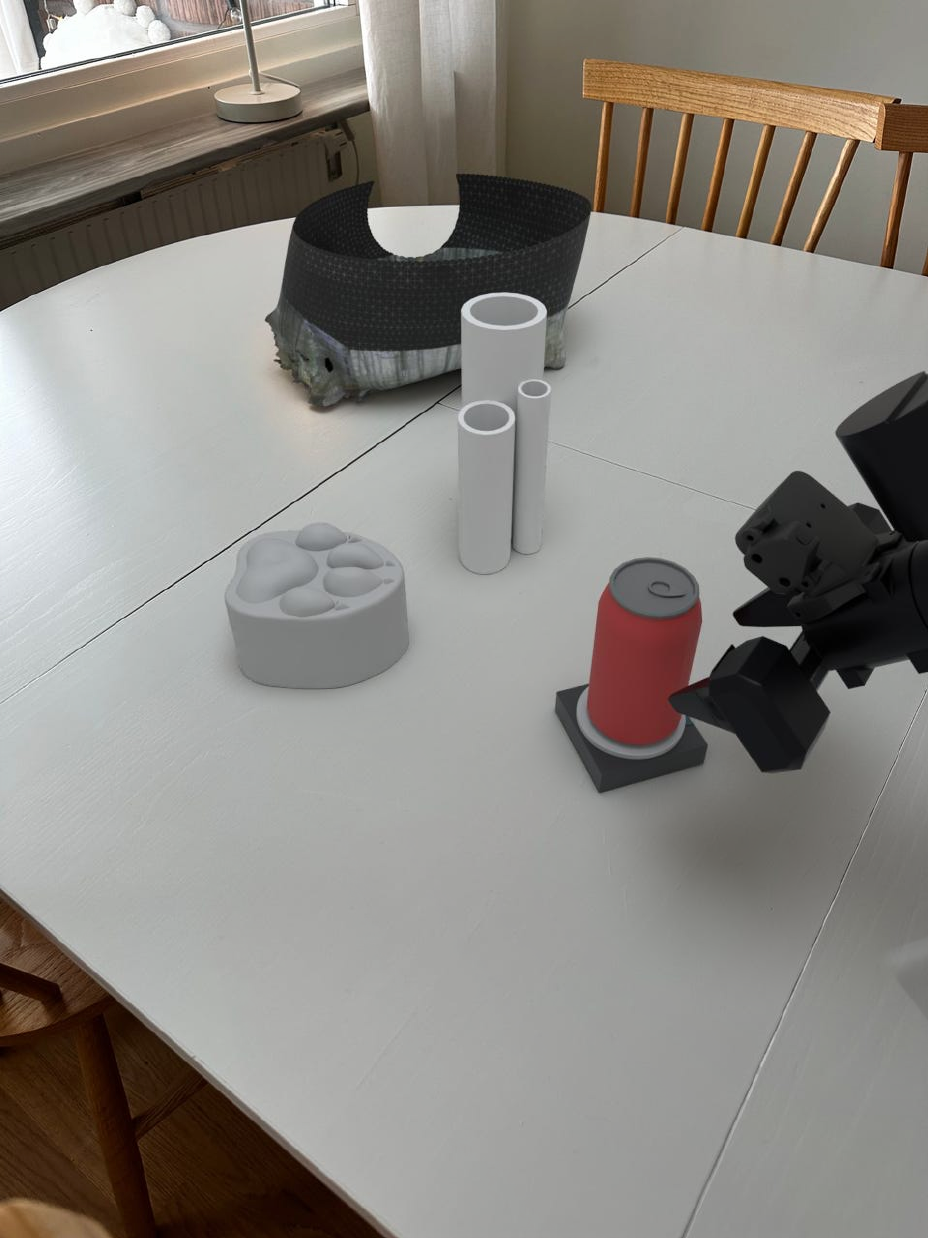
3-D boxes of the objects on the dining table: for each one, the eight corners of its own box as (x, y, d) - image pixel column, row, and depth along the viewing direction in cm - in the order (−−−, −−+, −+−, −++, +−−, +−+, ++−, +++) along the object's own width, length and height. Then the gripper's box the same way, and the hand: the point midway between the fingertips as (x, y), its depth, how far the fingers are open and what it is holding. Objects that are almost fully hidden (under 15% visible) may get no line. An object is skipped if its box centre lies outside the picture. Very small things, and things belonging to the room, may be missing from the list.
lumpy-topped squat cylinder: (258, 596, 82) (241, 512, 76) (413, 598, 81) (408, 515, 75) (232, 687, 74) (211, 602, 68) (403, 690, 74) (397, 605, 68)
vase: (463, 495, 92) (461, 291, 78) (540, 497, 92) (551, 292, 78) (458, 573, 84) (455, 360, 70) (542, 575, 83) (556, 362, 70)
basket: (296, 297, 123) (279, 162, 112) (574, 296, 123) (584, 161, 112) (260, 416, 103) (234, 264, 92) (594, 415, 102) (608, 263, 91)
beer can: (673, 759, 66) (701, 630, 57) (576, 738, 67) (591, 608, 59) (686, 690, 70) (714, 561, 62) (595, 671, 72) (611, 543, 63)
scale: (652, 684, 74) (656, 661, 72) (703, 763, 68) (709, 740, 67) (554, 710, 72) (556, 686, 71) (599, 793, 67) (602, 770, 65)
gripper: (918, 382, 53) (701, 484, 66) (785, 561, 42) (554, 642, 55) (1017, 547, 55) (788, 615, 67) (915, 759, 44) (664, 795, 56)
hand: (705, 659), depth 61 cm, fingers open, 9 cm apart
